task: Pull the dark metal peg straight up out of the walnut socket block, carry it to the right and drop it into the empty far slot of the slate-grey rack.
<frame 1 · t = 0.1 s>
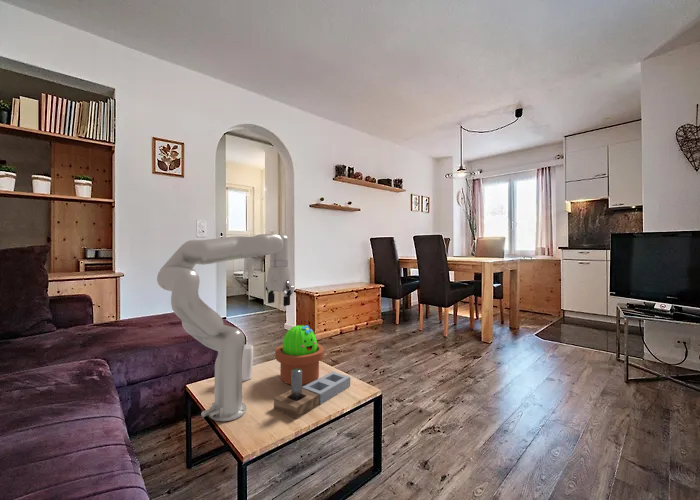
hand: (278, 304, 136), 37 cm above the table, tool pointing down, fingers open, 9 cm apart
socket block: (296, 406, 122), on the table
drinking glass: (245, 379, 147), on the table
metal peg: (296, 388, 122), in the socket block
peg rack: (326, 391, 136), on the table
potted cactus: (299, 378, 149), on the table
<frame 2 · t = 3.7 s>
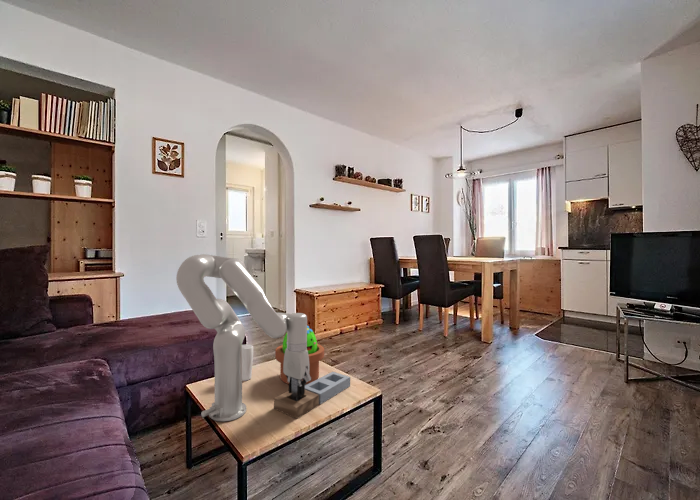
hand: (296, 393, 122), 5 cm above the table, tool pointing down, fingers closed on metal peg, 4 cm apart
metal peg: (296, 388, 122), in the socket block, touching gripper
everything else where it was.
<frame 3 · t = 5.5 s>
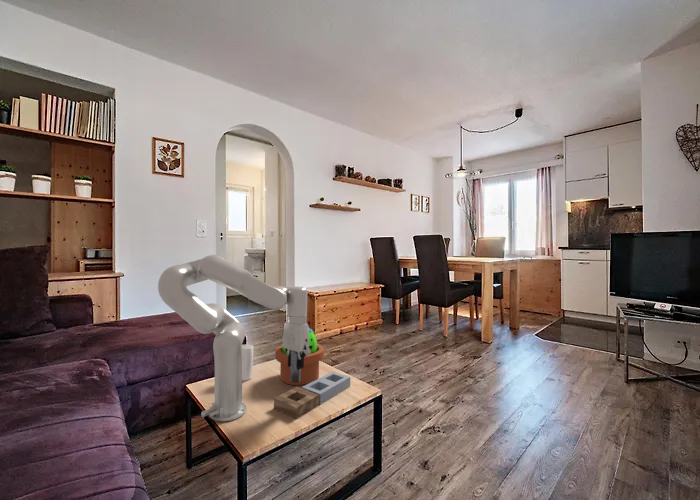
hand: (295, 366, 122), 16 cm above the table, tool pointing down, fingers closed on metal peg, 4 cm apart
metal peg: (295, 362, 122), point 17 cm above the table, touching gripper
everything else where it was.
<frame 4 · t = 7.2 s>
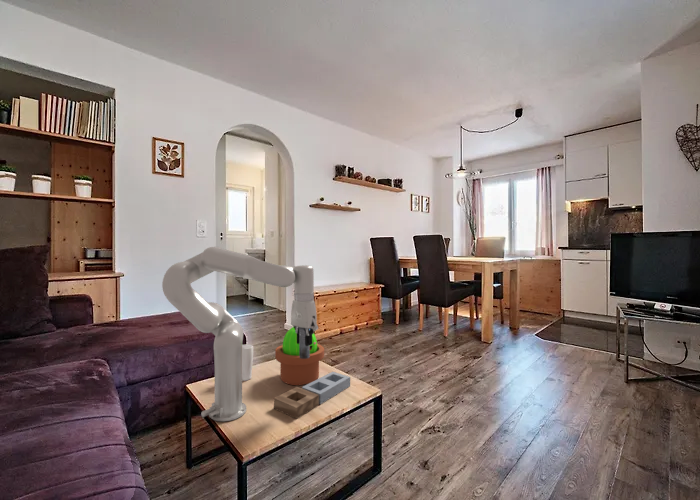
hand: (304, 343, 125), 24 cm above the table, tool pointing down, fingers closed on metal peg, 4 cm apart
metal peg: (304, 339, 125), point 25 cm above the table, touching gripper
everything else where it was.
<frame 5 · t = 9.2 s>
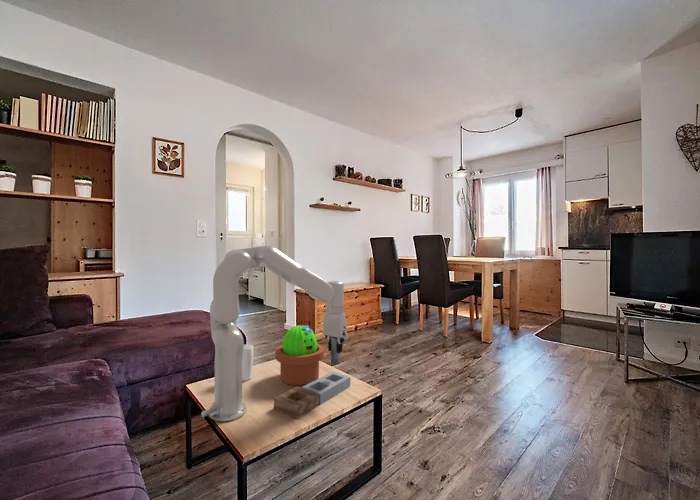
hand: (335, 350, 139), 16 cm above the table, tool pointing down, fingers closed on metal peg, 4 cm apart
metal peg: (335, 346, 139), point 18 cm above the table, touching gripper
everything else where it was.
when the fingers open (7 cm above the table, at t = 10.9 s): metal peg drops 1 cm, resting in peg rack.
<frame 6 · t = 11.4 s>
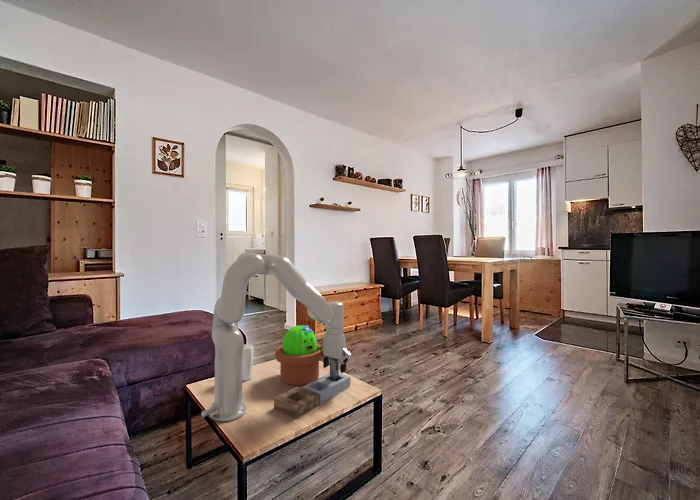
hand: (334, 369, 139), 8 cm above the table, tool pointing down, fingers open, 9 cm apart
metal peg: (334, 371, 139), in the peg rack
everything else where it was.
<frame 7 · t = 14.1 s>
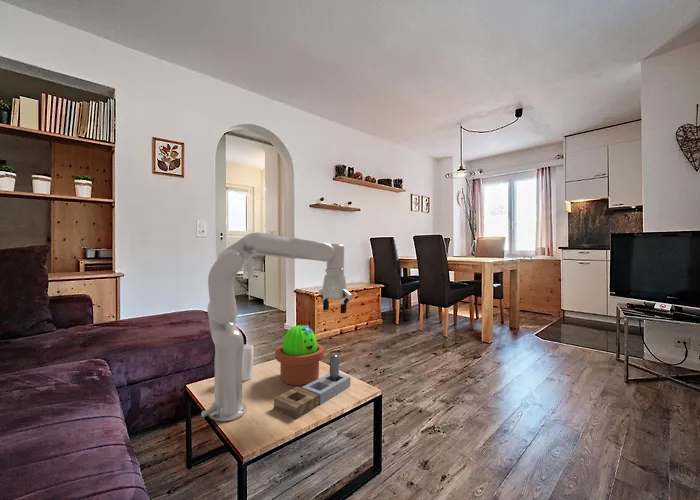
hand: (334, 311, 139), 33 cm above the table, tool pointing down, fingers open, 9 cm apart
nothing on the table moved.
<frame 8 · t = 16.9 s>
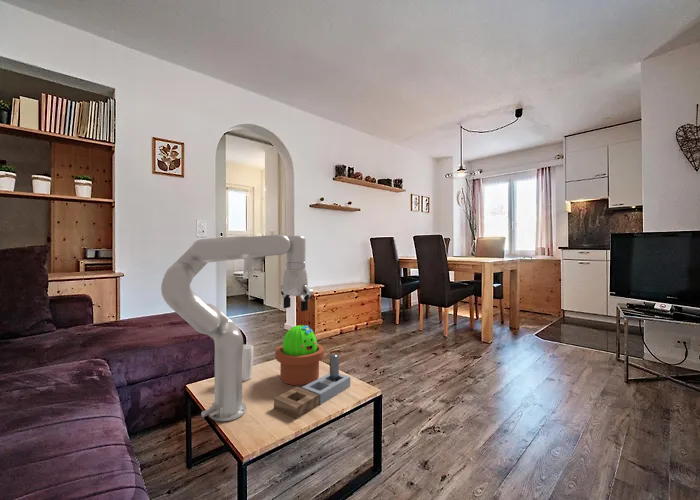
hand: (295, 309, 128), 36 cm above the table, tool pointing down, fingers open, 9 cm apart
nothing on the table moved.
at the end: metal peg 0.1 cm from the target spot on the peg rack, point 7.0 cm above the peg rack's base; metal peg tilted 0°; the gripper is holding nothing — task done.
